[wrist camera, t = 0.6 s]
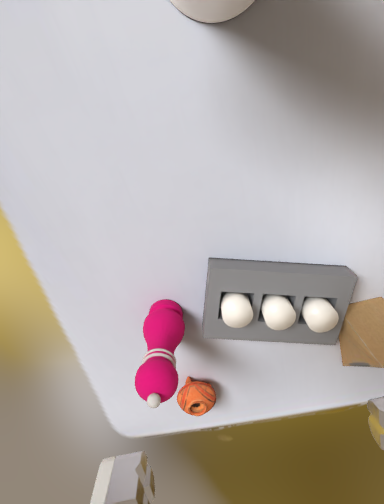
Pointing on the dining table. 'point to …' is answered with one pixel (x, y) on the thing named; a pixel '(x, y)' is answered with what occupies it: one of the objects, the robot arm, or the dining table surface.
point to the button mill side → (236, 309)
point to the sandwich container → (363, 334)
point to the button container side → (319, 314)
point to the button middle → (277, 311)
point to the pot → (196, 397)
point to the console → (276, 283)
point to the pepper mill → (160, 353)
